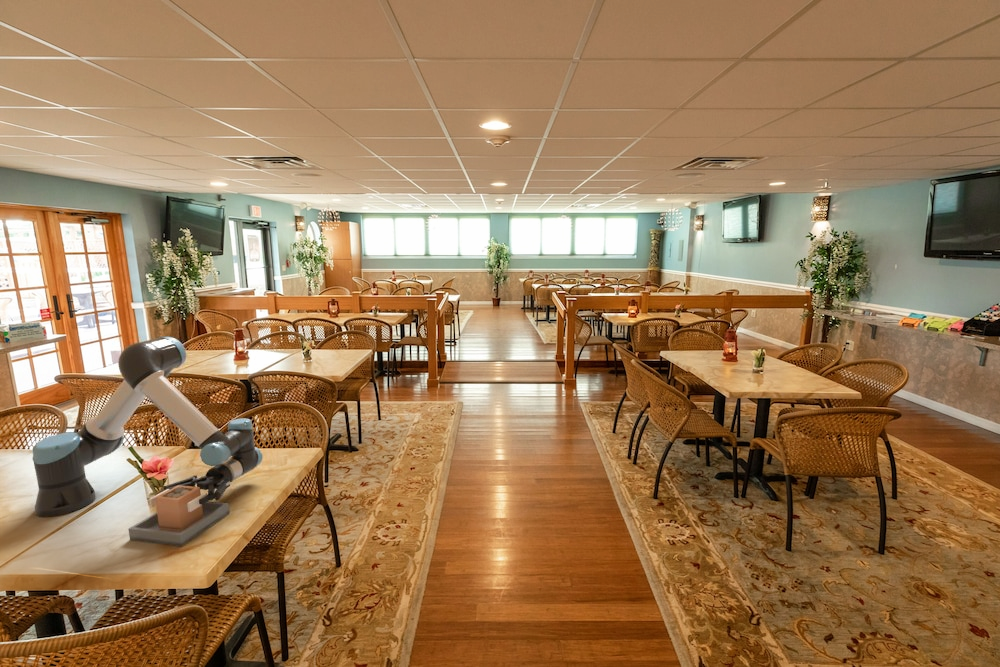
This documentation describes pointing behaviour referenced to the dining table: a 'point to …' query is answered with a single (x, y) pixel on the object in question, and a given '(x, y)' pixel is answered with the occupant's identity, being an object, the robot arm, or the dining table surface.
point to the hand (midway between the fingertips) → (169, 505)
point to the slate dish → (153, 534)
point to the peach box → (177, 508)
